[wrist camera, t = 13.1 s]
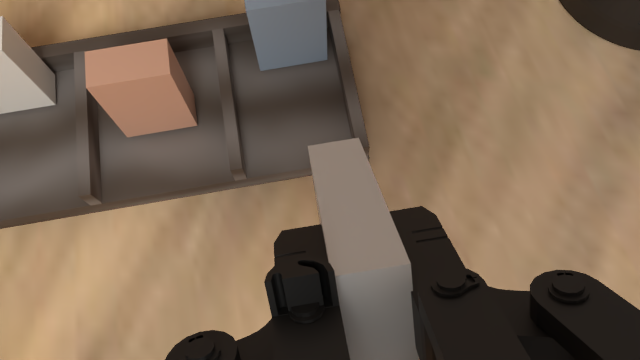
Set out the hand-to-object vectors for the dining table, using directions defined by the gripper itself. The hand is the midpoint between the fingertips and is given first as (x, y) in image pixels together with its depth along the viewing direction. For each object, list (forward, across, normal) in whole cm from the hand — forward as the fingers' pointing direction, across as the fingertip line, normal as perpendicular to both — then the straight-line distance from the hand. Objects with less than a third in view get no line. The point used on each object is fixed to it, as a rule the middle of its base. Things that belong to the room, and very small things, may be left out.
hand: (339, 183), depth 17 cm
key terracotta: (+25, -10, -5) cm, 27 cm away
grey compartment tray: (+26, -10, -6) cm, 29 cm away
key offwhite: (+27, -21, -2) cm, 34 cm away
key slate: (+28, -1, -2) cm, 28 cm away
